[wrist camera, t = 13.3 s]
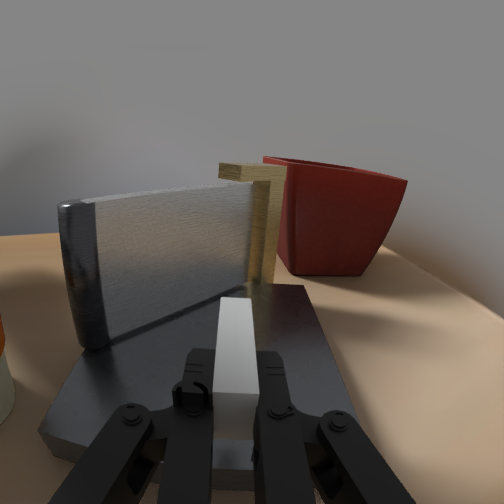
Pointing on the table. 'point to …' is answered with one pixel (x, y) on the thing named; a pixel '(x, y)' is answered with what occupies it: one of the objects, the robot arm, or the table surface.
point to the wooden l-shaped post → (261, 214)
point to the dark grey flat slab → (172, 368)
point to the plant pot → (334, 216)
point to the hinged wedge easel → (152, 254)
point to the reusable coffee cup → (5, 382)
